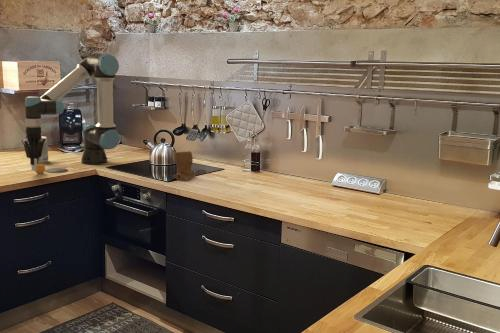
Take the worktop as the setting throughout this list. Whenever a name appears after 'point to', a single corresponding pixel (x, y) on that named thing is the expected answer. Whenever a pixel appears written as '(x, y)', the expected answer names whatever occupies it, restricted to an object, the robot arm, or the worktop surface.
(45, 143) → the supplement tub
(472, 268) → the worktop surface
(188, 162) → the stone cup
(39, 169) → the ball
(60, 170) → the disc
